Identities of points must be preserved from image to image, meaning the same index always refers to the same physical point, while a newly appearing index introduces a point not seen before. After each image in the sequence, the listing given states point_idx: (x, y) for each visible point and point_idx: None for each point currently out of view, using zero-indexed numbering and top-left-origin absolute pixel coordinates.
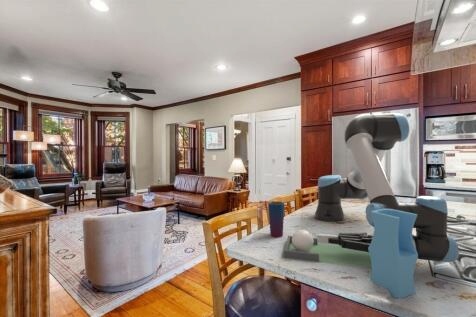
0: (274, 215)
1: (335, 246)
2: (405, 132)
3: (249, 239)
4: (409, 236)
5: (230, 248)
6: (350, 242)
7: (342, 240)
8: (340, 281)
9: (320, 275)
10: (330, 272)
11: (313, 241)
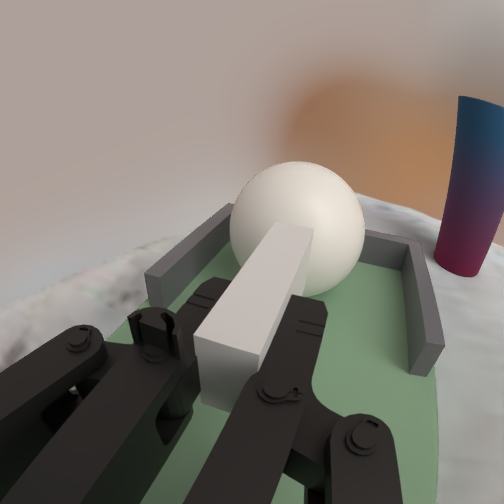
0: (455, 147)
1: (407, 492)
2: None
3: (404, 214)
4: None
5: None
6: (2, 379)
7: (74, 327)
8: (9, 325)
9: (76, 293)
10: None
11: None
